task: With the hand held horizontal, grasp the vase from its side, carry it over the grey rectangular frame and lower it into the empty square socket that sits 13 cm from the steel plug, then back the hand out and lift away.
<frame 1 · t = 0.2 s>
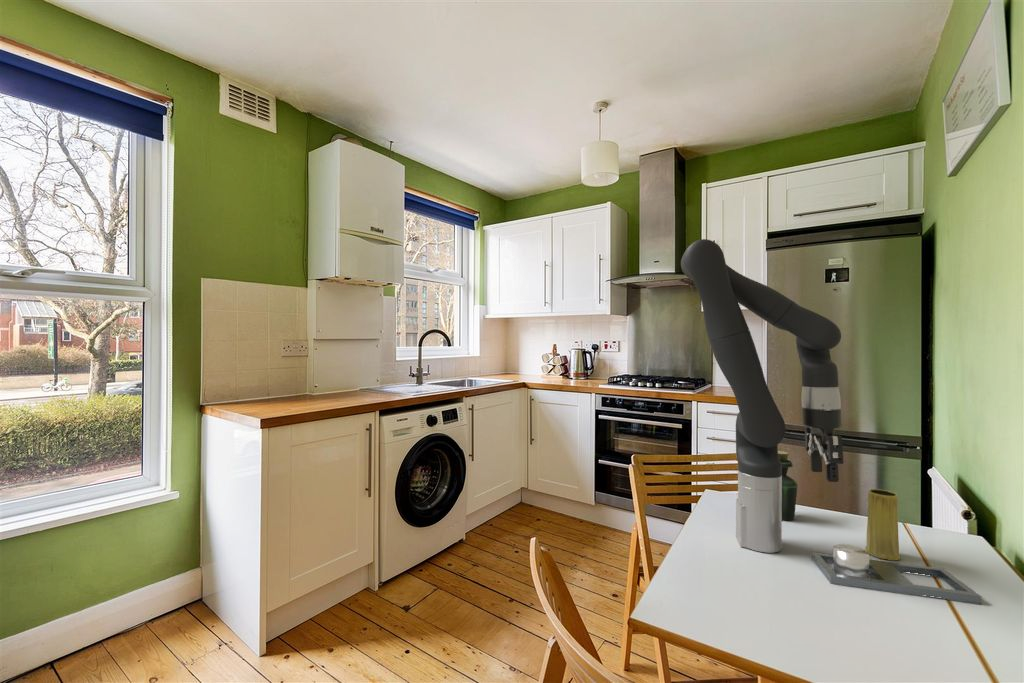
hand: (824, 476, 104), 18 cm above the table, tool pointing down, fingers open, 8 cm apart
potion bottle: (780, 517, 126), on the table
vase: (882, 555, 103), on the table
grey rectangular frame: (888, 579, 92), on the table
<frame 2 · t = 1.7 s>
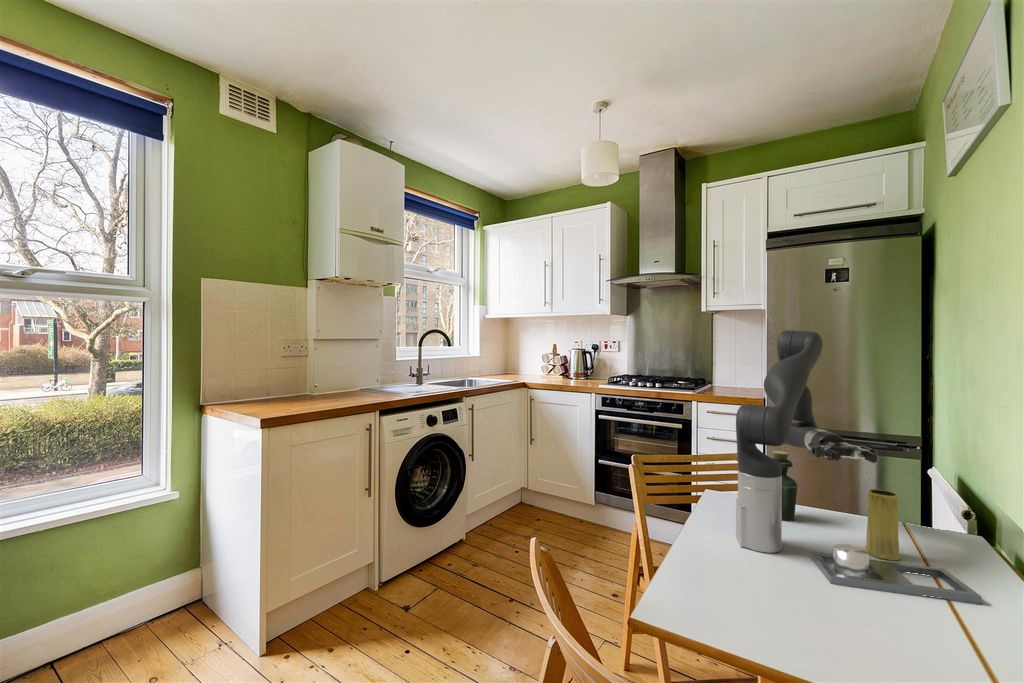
hand: (855, 457, 114), 20 cm above the table, tool horizontal, fingers open, 8 cm apart
nothing on the table moved.
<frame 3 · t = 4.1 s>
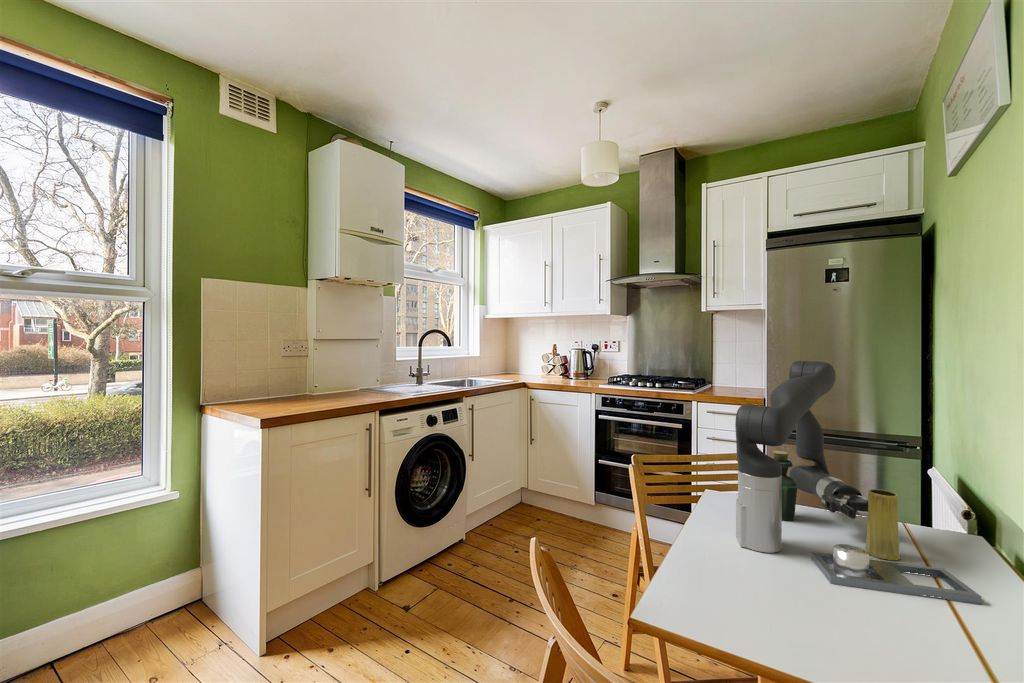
hand: (874, 516, 106), 8 cm above the table, tool horizontal, fingers open, 8 cm apart
nothing on the table moved.
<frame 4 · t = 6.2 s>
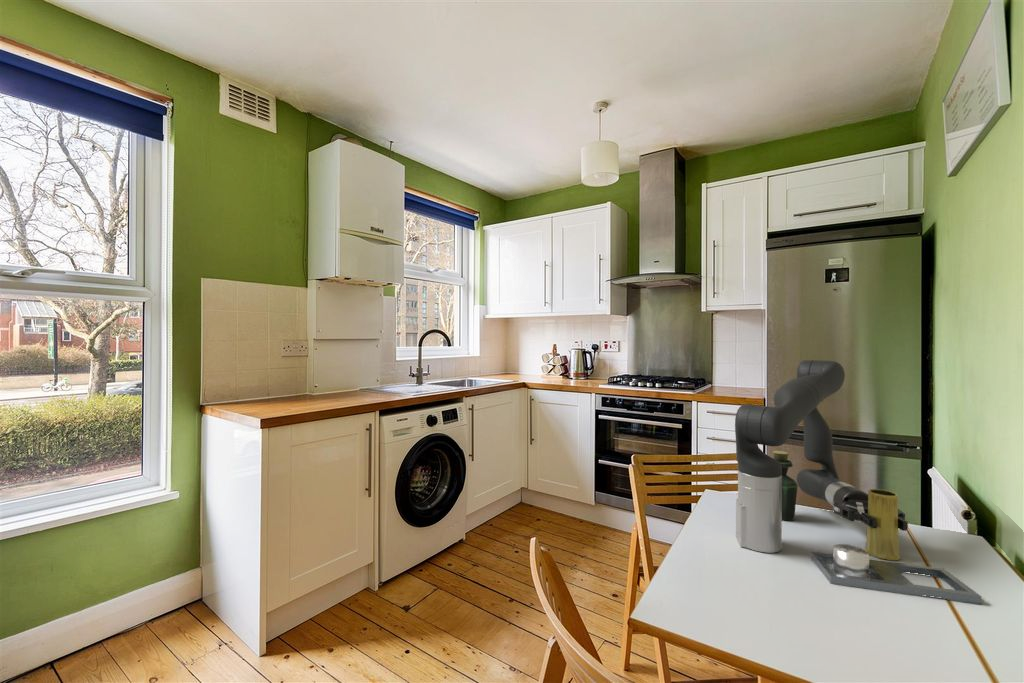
hand: (889, 525, 101), 8 cm above the table, tool horizontal, fingers closed on vase, 5 cm apart
vase: (882, 555, 103), on the table, touching gripper
everything else where it was.
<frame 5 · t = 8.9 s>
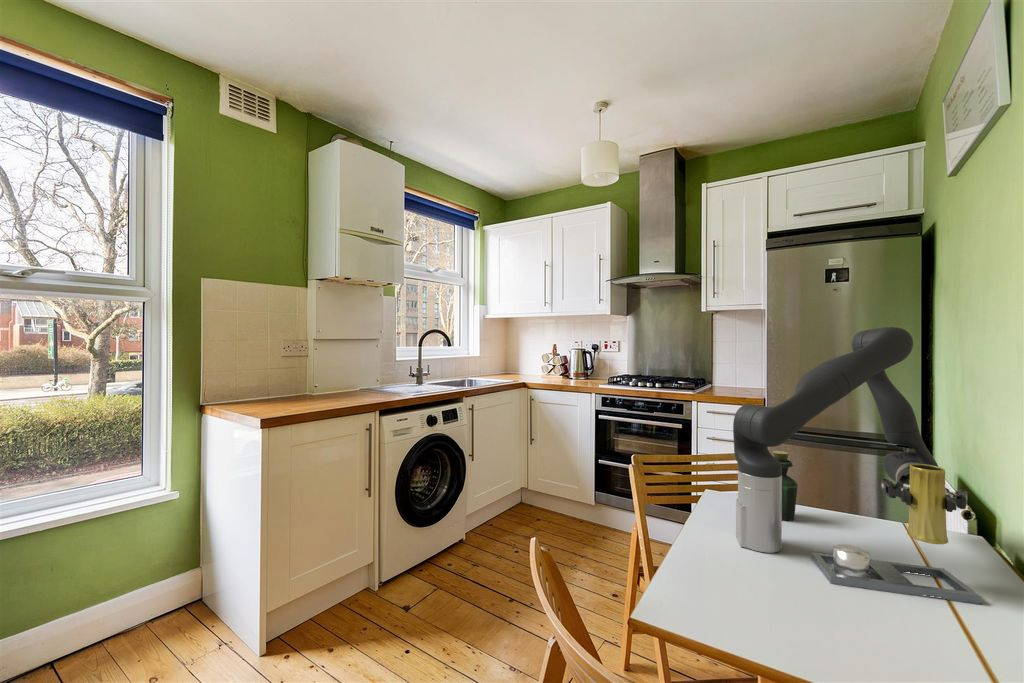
hand: (929, 503, 88), 17 cm above the table, tool horizontal, fingers closed on vase, 5 cm apart
vase: (927, 539, 90), point 9 cm above the table, touching gripper
everything else where it was.
when the fingers open (8 cm above the table, at t = 11.6 s): vase stays where it is, resting in grey rectangular frame.
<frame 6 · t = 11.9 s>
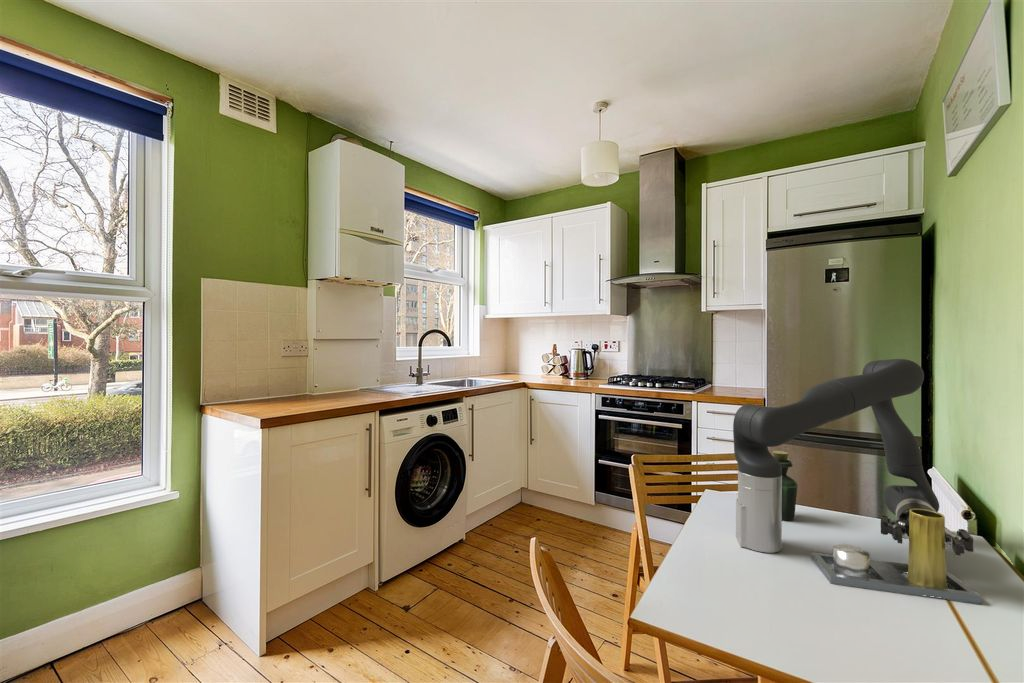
hand: (928, 544, 88), 9 cm above the table, tool horizontal, fingers open, 8 cm apart
vase: (926, 585, 90), resting in grey rectangular frame
everything else where it was.
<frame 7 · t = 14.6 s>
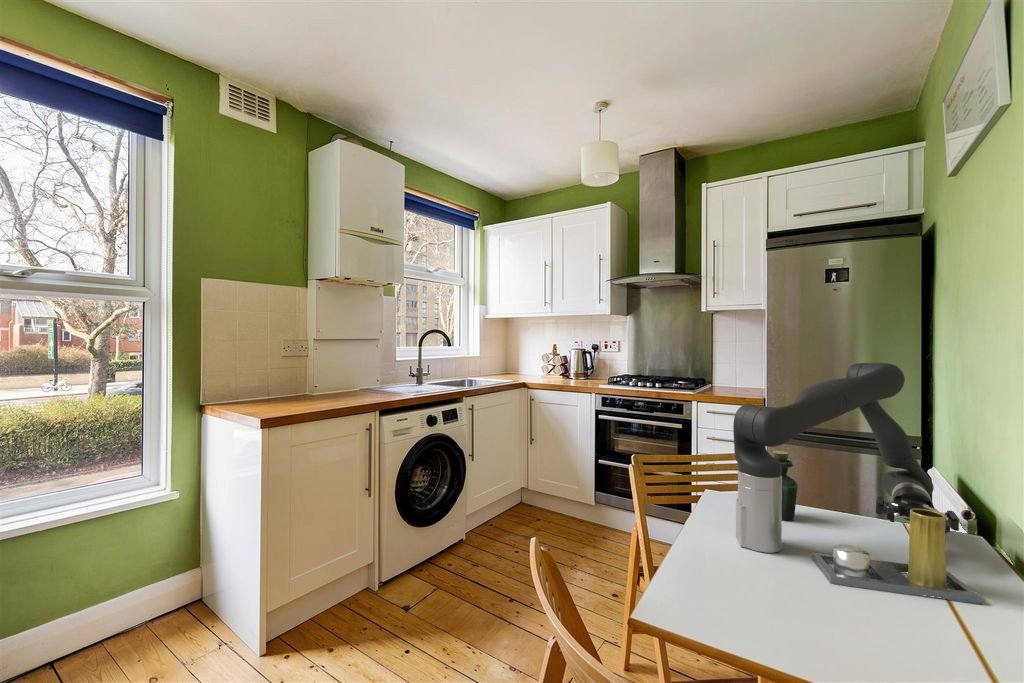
hand: (917, 523, 99), 9 cm above the table, tool horizontal, fingers open, 8 cm apart
nothing on the table moved.
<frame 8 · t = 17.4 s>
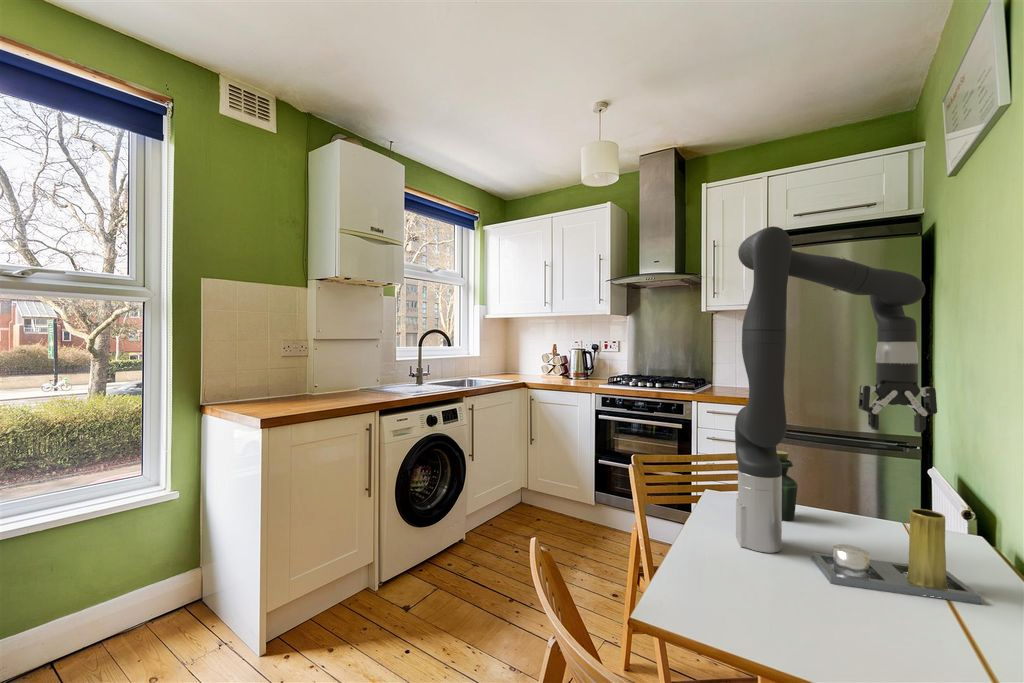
hand: (896, 430, 105), 28 cm above the table, tool pointing down, fingers open, 8 cm apart
nothing on the table moved.
at the end: vase 0.2 cm from the target spot on the grey rectangular frame, point 0.0 cm above the grey rectangular frame's base; vase tilted 0°; the gripper is holding nothing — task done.
